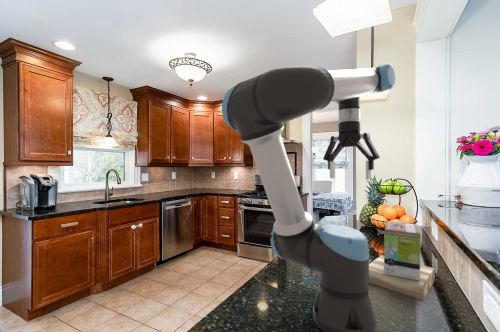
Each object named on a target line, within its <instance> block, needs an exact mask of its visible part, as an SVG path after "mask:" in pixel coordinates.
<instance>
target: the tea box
mask: <svg viewBox="0 0 500 332" xmlns="http://www.w3.org/2000/svg"><path fill="white" fill-rule="evenodd" d="M383 238H384V239H383V245H384V247H383V249H384V252H383V256H384V273H385V274H388V275H393V276H397V277H402V278H408V279H413V280H418V281H419V280H420V265H421V231H420V230H419V226H418V224H417V223H408V222H398V221H387V220H386V222H385V227H384V237H383Z"/></svg>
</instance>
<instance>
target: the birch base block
mask: <svg viewBox="0 0 500 332" xmlns="http://www.w3.org/2000/svg"><path fill="white" fill-rule="evenodd" d="M434 283H435V268H434V267H431V266H426V265H422V264H420V280H419V281H418V280H413V279H408V278H402V277H397V276H393V275H388V274H385V273H384V255H380V256H378V257H377V258H375V259H374V260H372V261H371V262H369V284H371V285H375V286H378V287H381V288H385V289H387V290H391V291H393V292H397V293H400V294H402V295H406V296H409V297H413V298H415V299H419V300H422V301H423V300H424V299H425V298H426V296H427V294H428V293H429V291H430V289H431V288H432V287H433V284H434Z"/></svg>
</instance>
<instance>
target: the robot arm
mask: <svg viewBox="0 0 500 332" xmlns="http://www.w3.org/2000/svg"><path fill="white" fill-rule="evenodd" d="M395 85H396V72H395V69H394V66H393V65H392V64H390V63H386V64H382V65H377V66H374V67H369V68H368V67H367V68H350V69H334V70H333V69H331V70H328V69H327V68H326V67H323V66H320V65H319V66H316V65H315V66H288V67H287V66H286V67H279V68H274V69H270V70H268V71H266V72H264V73H261V74H259V75H257V76H254V77H252V78H249V79H246V80H244V81H240V82H239V83H237V84H236V85H235V84H234V86H232V87H231V88H229V89H228V90H227V92H225V94H224V97H223V100H222V102H221V113H222V118H223V121H224V122H225V124H226V126H228V127H229V128H231V130H233V131H235V132H237V134H238V135H239V136H238V137H239V139H240V142H242V143H244V144H245V145H248V147H249V149H250V152H251V154H252V157H253V160H254V162H255V165H256V168H257V170H258V171H257V172H258V174H259V176H260V180H261V182H262V186H263V188H264V191H265V194H266V197H267V200H268V202H269V205H270V207H271V211H272V214H273V216H274V219H275V221H274V222H273V226H272V230H271V233H270V235H271V237H270V246H271V249H272V251H273V252H274V254H275V255H276V256H277V257H278V258H280V259H282V260H283V261H285V262H287V263H291V264H293V265H296V266H298V267H302V268H304V269H307V270H309V271H311V272H314V273H317V274H319V277H318V278H319V286H318V287H319V288H318V291H317V293H316V297H315V300H314V302H313V306H312V319H313V322H314V324H315V326H316V327H317V326H318V327H319V328H320V329H321V330H320V329H319V328H318V327H317V328H318V329H319V330H320V331H322V330H323V331H324V332H378V319H377V316H376V313H375V310H374V306H373V304H372V301H371V297H370V295H369V294H370V292H369V291H370V289H369V287H370V285H369V284H370V283H369V264H370V252H369V240H368V239H367V237H366V235H364V233H363V232H361V231H360V230H358V229H355V228H352V227H350V226H346V225H342V224H339V225H338V224H335V223H326V224H323V225H320V227H317V226H315V223H314V220H313V217H312V214H311V213H309V212H307V211H305V208H304V206H303V202H302V198H301V197H300V192H299V189H298V187H297V183H296V180H295V177H294V173H293V169H292V168H291V167H292V166H291V164H290V160H289V157H288V154H287V152H286V148H285V145H284V141H283V139H282V135H281V134H282V132H283V130H284V128H285V124H284V123H287V122H290V121H294V120H295V119H298V118H300V117H303V116H306V115H308V114H311V113H313V112H316V111H320V110H323V109H325V108H326V107H328V106H329V105H330V104H331V103H335V104H338V105H337V107H338V136H334V135H331V136H330V142H329V144H328V146H327V149H326V151H325V153H324V155H323V160H324V161H327V169H328V170H329V179H335V178H336V161H334V160H335V159H336V158H337V156H338V155H339V153H340V152H341V151H342V150H343V149H344V148H353V147H355V148H357V150H359V152H360V153H361V154H362V155H364V157H365V158H366V159H367V160H365V180H371V179H372V171H373V170H374V167H375V165H374V164H375V163H374V161H375V160H378V159H380V155H379V152H378V151H377V149H376V147H375V145H374V144H373V142H372V140H371V138H370V137H371V136H370V133H367V132H363V133H361V122H360V121H361V97H362V96H363V97H364V96H368V95H372V94H377V93H382V92H386V91H389V90H392V89H393V88H394V86H395ZM361 139H362V140H363V141H364V143H365V145H366V146H367V148H368V149H366V148H365V147H364V145H363V144H362V143H361V142H360V141H361ZM337 142H338V143H337ZM336 144H337V146H336ZM335 146H336V147H335ZM368 150H369V151H368ZM323 331H322V332H323Z"/></svg>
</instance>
